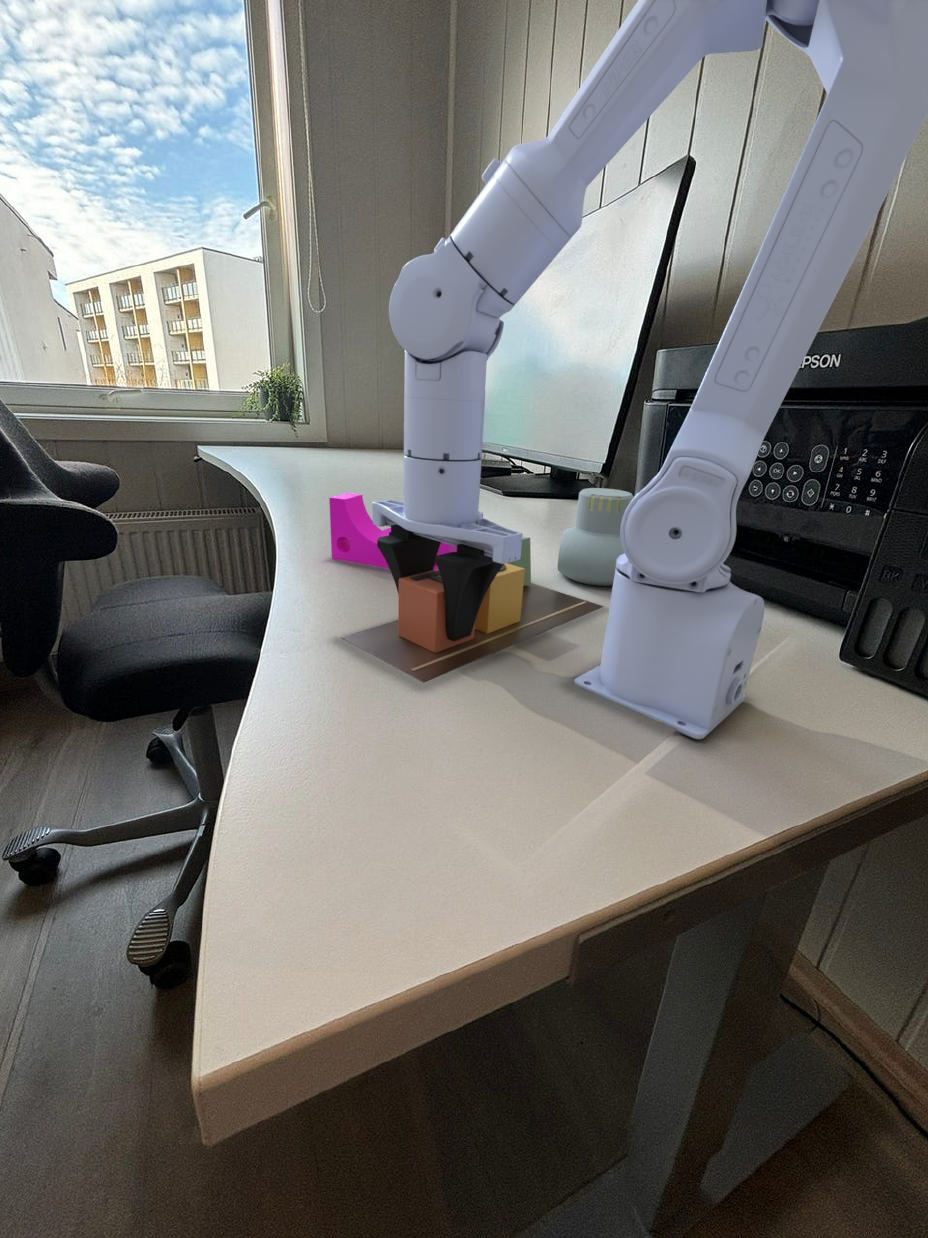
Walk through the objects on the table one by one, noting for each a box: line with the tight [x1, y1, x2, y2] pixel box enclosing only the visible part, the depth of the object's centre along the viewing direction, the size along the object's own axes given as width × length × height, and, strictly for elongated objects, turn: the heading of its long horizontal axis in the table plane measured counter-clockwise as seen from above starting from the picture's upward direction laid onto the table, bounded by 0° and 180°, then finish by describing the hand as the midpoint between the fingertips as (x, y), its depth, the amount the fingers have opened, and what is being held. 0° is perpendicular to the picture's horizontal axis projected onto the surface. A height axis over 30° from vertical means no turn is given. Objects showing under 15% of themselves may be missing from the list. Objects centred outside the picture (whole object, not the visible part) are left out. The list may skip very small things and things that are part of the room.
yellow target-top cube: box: [475, 563, 525, 634], centre depth 50 cm, size 4×4×5 cm
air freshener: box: [557, 487, 635, 587], centre depth 63 cm, size 11×8×10 cm
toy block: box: [328, 492, 457, 570], centre depth 66 cm, size 15×6×8 cm, turn 68°
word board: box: [341, 582, 604, 683], centre depth 51 cm, size 10×24×1 cm, turn 136°
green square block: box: [508, 536, 532, 586], centre depth 60 cm, size 4×4×5 cm
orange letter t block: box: [397, 569, 475, 653], centre depth 46 cm, size 4×4×5 cm
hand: (436, 627), depth 47 cm, fingers open, 5 cm apart
